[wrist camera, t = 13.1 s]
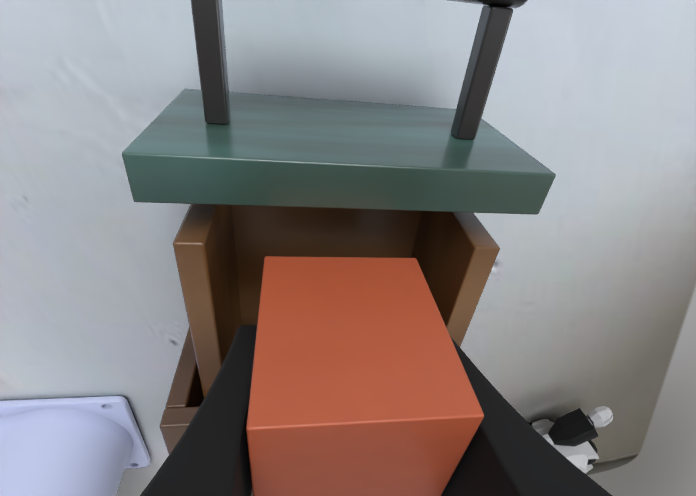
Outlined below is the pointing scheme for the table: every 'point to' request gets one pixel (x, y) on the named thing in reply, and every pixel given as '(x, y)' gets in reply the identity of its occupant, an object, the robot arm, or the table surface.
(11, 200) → the table surface
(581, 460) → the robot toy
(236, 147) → the drawer
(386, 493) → the block
